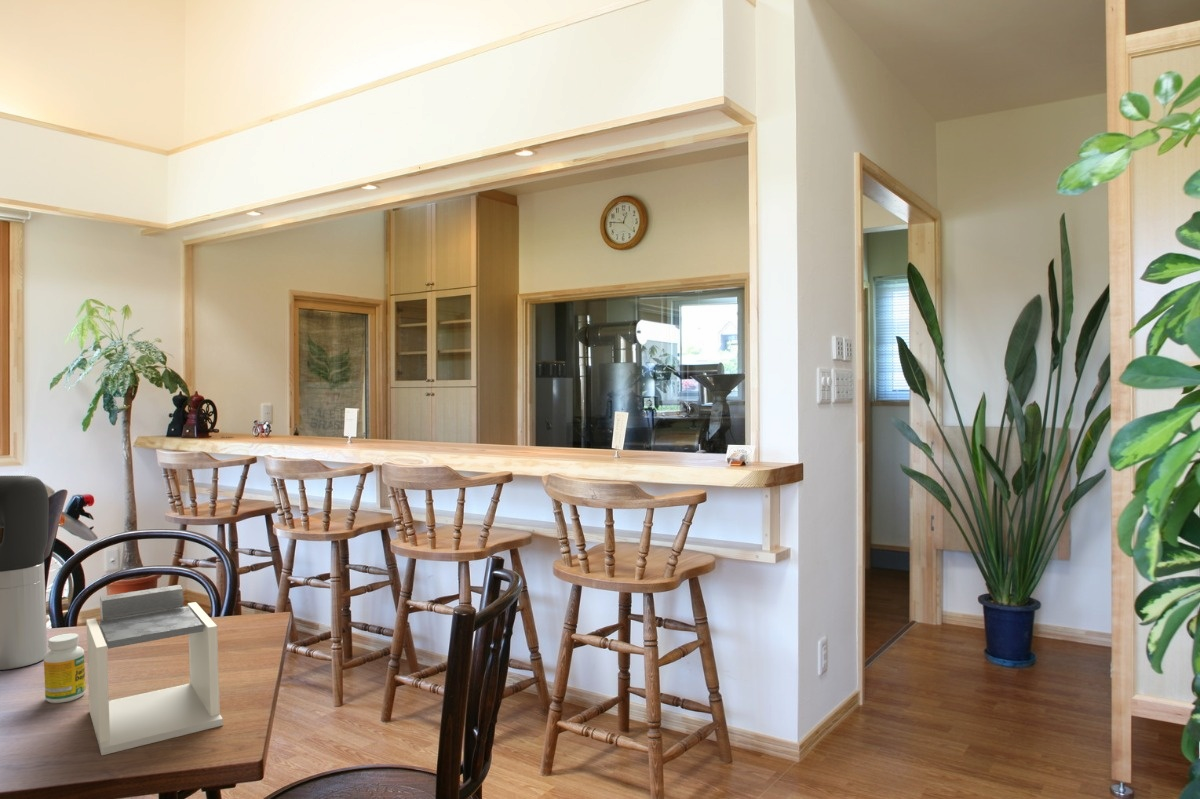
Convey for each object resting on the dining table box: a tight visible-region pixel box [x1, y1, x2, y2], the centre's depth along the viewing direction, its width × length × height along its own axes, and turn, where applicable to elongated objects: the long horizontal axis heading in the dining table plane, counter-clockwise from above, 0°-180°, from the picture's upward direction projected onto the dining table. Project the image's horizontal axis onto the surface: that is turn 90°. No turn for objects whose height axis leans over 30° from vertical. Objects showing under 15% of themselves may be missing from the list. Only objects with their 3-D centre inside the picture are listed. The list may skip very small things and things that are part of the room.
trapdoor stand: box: [85, 601, 224, 756], centre depth 120 cm, size 18×15×14 cm
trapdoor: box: [98, 584, 203, 650], centre depth 122 cm, size 16×12×4 cm
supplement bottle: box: [43, 632, 86, 704], centre depth 129 cm, size 5×5×10 cm
